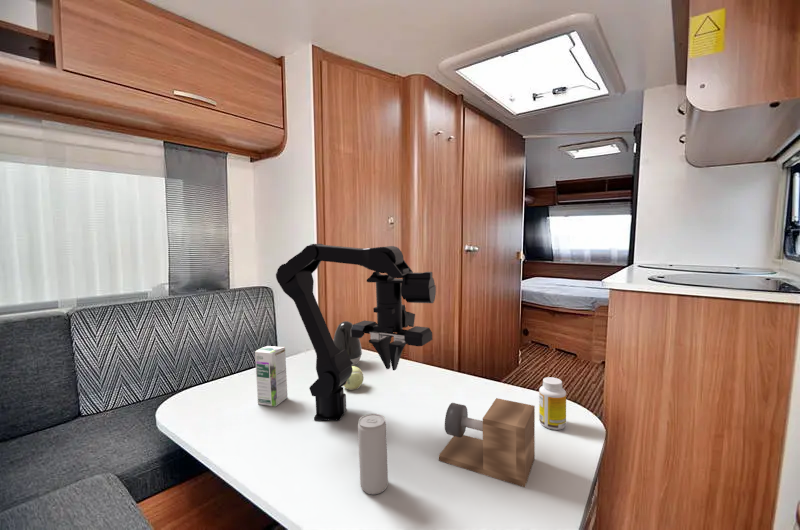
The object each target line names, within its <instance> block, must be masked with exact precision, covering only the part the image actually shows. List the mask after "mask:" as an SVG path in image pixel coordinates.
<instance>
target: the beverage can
mask: <svg viewBox="0 0 800 530" xmlns="http://www.w3.org/2000/svg"><path fill="white" fill-rule="evenodd" d="M357 423H358V424H357V434H358V436H357V437H358V439H357V440H358V458H359V459H358V461H359V462H358V464H359V479H360V480H359V483H360V484H359V485H360V488H361V489H362V491H363V492H365V493H366V494H369V495H374V496H375V495H379V494H381V493H383V492H384V491H385V490H386V488H387V487H388V484H389V471H388V444H387V442H388V441H387V438H388V437H387V423H386V418H385V417H384V416H383V415H381V414H377V413H369V414H365V415H364V414H363V415H362V416H360V418H359V419H358V422H357Z"/></svg>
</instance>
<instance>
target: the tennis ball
mask: <svg viewBox="0 0 800 530" xmlns="http://www.w3.org/2000/svg"><path fill="white" fill-rule="evenodd" d="M364 378H365V377H364V373H363V371H362V370H361V368H359V367H358V366H356V365H355V366H352V374H351V376H350V377H349V379H347V381H346V384H345V385H343V386H342V387H343V388H345V389H346V390H349V391H354V390H358V389H359V388H360V387H361V386H362V384H363V382H364V380H365V379H364Z"/></svg>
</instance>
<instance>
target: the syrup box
mask: <svg viewBox="0 0 800 530" xmlns="http://www.w3.org/2000/svg"><path fill="white" fill-rule="evenodd" d="M254 353H255V354H254V356H255V357H254V358H255V359H254V360H255V375H256V376H255V377H256V393H257V405H263V406H270V407H277V406H278V405H280V403H282V402H283V401H285V400H286V399H288V397H289V396H288V382H287V381H288V378H287V377H288V376H287V361H286V359H287V358H286V346H274V345H273V346H271V345H266V346H263V347H261V348H259V349H257V350H255V352H254Z"/></svg>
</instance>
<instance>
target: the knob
mask: <svg viewBox="0 0 800 530" xmlns="http://www.w3.org/2000/svg"><path fill="white" fill-rule="evenodd" d="M468 413H469V412H468V407H467V405H465V404H461V403H455V402H451V403H450V404H449V405H448V407H447V409H446V412H445V419H444V431H445V433H446V434H447V435H448V436H452V437H453V436H456V437H459V438H461V437H462V436H463V435H465V432H466V431H467V430H466V429H467V428H468V429H471V430H476V431H481V432H483V420H479V419H475V418H471V417H468V416H469V415H468Z"/></svg>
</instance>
